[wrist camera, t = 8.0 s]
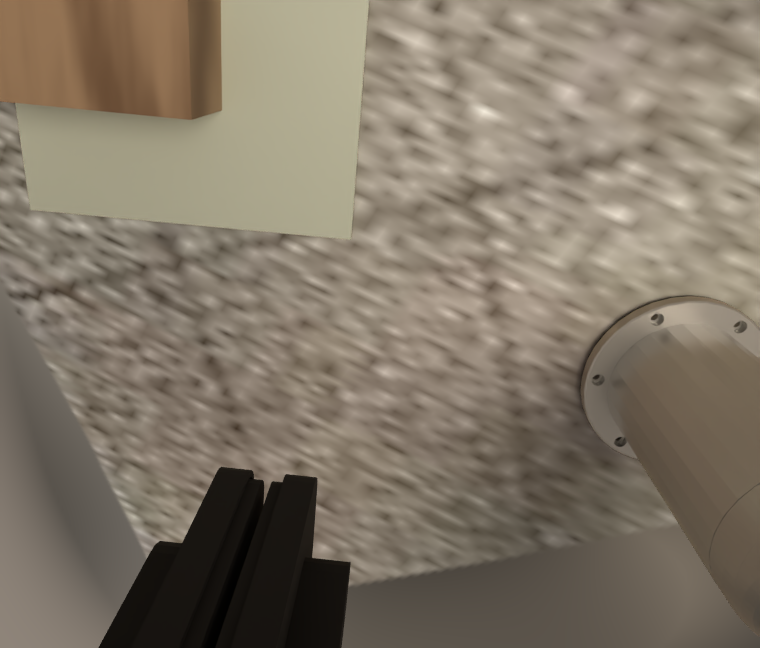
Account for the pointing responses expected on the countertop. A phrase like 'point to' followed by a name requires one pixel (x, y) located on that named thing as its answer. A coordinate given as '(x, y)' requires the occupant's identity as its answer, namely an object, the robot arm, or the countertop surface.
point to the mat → (225, 134)
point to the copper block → (113, 55)
